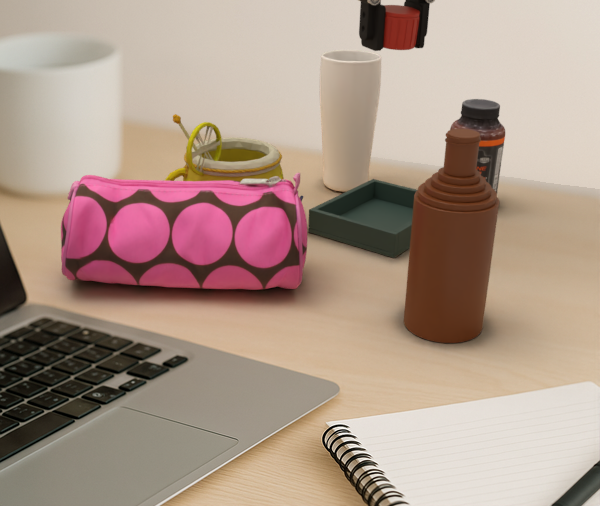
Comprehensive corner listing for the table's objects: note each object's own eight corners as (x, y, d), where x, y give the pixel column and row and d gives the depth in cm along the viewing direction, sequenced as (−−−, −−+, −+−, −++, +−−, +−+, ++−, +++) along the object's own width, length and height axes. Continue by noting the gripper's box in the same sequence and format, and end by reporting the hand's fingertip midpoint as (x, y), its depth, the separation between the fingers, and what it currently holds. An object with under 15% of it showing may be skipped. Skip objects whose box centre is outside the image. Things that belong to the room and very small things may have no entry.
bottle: (423, 298, 72) (441, 116, 65) (493, 318, 69) (520, 130, 62) (390, 328, 67) (405, 135, 60) (464, 351, 64) (489, 151, 57)
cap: (402, 52, 75) (407, 16, 73) (366, 43, 77) (370, 8, 75) (422, 45, 78) (427, 10, 76) (387, 37, 80) (392, 3, 78)
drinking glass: (379, 180, 99) (388, 52, 92) (366, 198, 94) (374, 63, 87) (325, 173, 101) (329, 47, 94) (309, 191, 95) (312, 58, 88)
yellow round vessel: (267, 200, 93) (267, 93, 87) (300, 237, 84) (302, 120, 78) (153, 213, 89) (145, 101, 83) (175, 253, 80) (168, 130, 74)
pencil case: (303, 257, 79) (305, 156, 75) (307, 305, 71) (310, 194, 66) (78, 257, 78) (66, 155, 74) (54, 305, 70) (39, 192, 65)
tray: (371, 199, 93) (373, 178, 92) (453, 221, 88) (455, 198, 87) (308, 232, 85) (308, 209, 84) (393, 258, 79) (395, 234, 78)
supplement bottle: (439, 210, 91) (449, 107, 86) (444, 192, 96) (454, 94, 91) (494, 215, 90) (508, 112, 84) (496, 197, 95) (509, 98, 90)
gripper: (338, -184, 63) (329, 60, 72) (517, -175, 69) (488, 49, 78) (300, -181, 70) (295, 44, 78) (467, -172, 76) (446, 36, 84)
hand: (392, 44), depth 78 cm, fingers closed on cap, 3 cm apart
